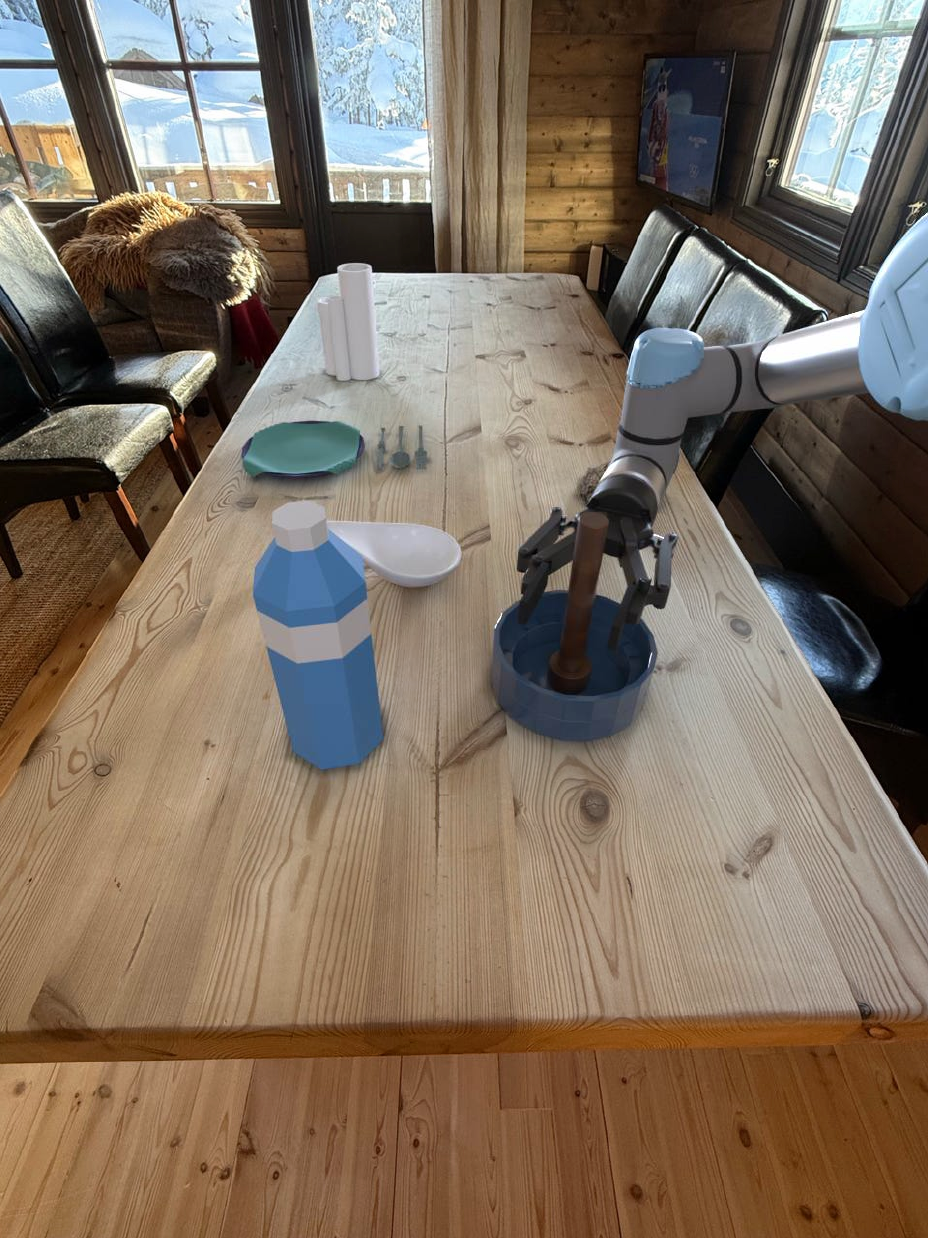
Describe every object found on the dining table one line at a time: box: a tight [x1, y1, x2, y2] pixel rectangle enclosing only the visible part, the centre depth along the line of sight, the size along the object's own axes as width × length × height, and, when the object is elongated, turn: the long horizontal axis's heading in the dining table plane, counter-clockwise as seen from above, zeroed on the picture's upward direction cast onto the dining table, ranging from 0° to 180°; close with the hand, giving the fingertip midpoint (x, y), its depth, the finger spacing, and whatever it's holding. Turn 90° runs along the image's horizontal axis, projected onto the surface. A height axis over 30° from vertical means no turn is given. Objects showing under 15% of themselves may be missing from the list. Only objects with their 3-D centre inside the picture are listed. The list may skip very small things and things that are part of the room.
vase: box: [316, 262, 380, 382], centre depth 130 cm, size 11×7×20 cm, turn 89°
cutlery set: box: [240, 420, 428, 479], centre depth 108 cm, size 20×30×2 cm, turn 93°
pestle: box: [547, 512, 609, 695], centre depth 63 cm, size 4×4×20 cm
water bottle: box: [252, 500, 384, 771], centre depth 57 cm, size 9×9×25 cm
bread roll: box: [579, 460, 663, 505], centre depth 100 cm, size 13×12×5 cm
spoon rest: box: [327, 520, 462, 588], centre depth 82 cm, size 24×12×7 cm, turn 94°
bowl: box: [490, 589, 659, 743], centre depth 68 cm, size 16×16×6 cm
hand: (567, 625), depth 59 cm, fingers open, 8 cm apart
